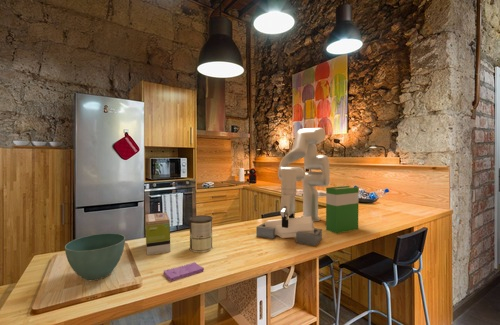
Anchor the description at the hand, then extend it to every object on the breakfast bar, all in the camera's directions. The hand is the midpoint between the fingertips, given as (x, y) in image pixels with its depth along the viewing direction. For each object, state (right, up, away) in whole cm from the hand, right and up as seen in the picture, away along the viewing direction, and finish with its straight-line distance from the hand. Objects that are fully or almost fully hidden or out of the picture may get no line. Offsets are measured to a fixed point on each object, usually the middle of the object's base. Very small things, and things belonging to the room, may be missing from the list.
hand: (288, 225), depth 131 cm
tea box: (-62, -7, -14) cm, 64 cm away
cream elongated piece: (+1, -7, 0) cm, 7 cm away
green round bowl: (-74, -8, -40) cm, 85 cm away
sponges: (-44, -9, -38) cm, 59 cm away
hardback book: (+33, -6, +15) cm, 37 cm away
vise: (0, -7, +1) cm, 7 cm away
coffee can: (-42, -7, -14) cm, 45 cm away
